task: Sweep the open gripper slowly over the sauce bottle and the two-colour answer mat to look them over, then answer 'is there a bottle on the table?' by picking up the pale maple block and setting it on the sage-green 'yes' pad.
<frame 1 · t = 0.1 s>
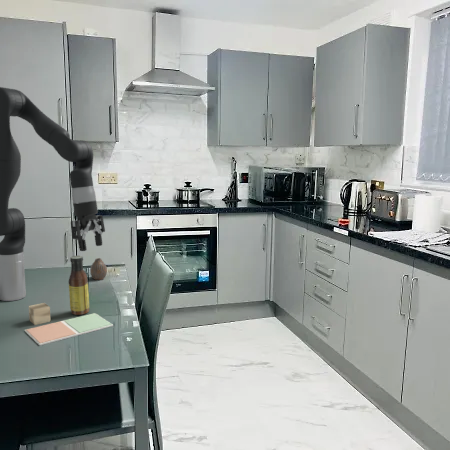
hand: (91, 248, 151), 22 cm above the table, tool pointing down, fingers open, 8 cm apart
brown rounded lump: (98, 279, 193), on the table
sauce bottle: (79, 313, 153), on the table
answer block: (40, 321, 145), on the table
answer mat: (69, 328, 140), on the table
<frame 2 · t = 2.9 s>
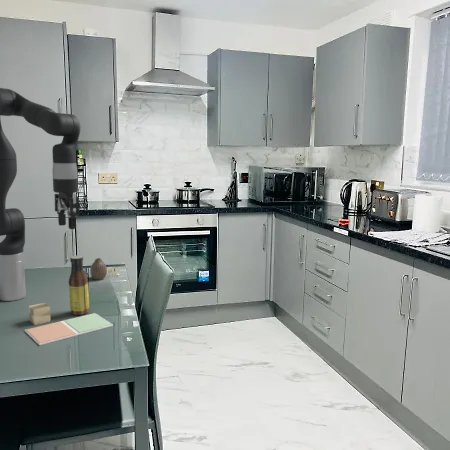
hand: (67, 227, 146), 30 cm above the table, tool pointing down, fingers open, 8 cm apart
nothing on the table moved.
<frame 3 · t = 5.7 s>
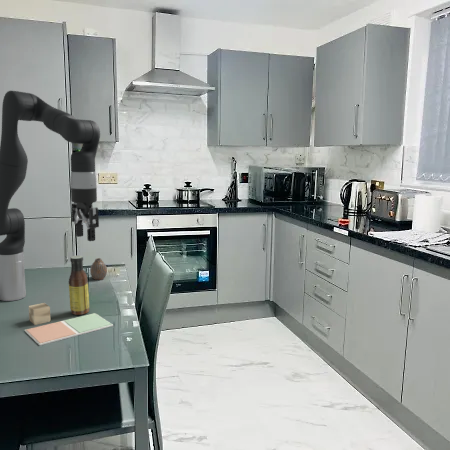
hand: (85, 238, 139), 28 cm above the table, tool pointing down, fingers open, 8 cm apart
nothing on the table moved.
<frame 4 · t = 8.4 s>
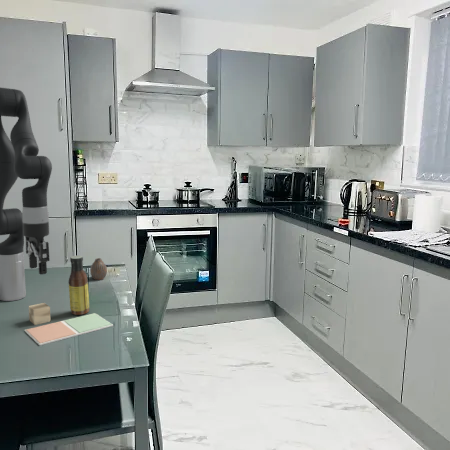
hand: (38, 270, 142), 17 cm above the table, tool pointing down, fingers open, 8 cm apart
nothing on the table moved.
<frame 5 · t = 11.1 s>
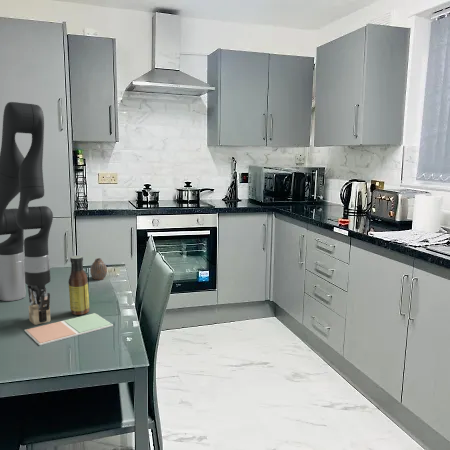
hand: (39, 318, 145), 1 cm above the table, tool pointing down, fingers closed on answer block, 5 cm apart
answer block: (39, 320, 145), on the table, touching gripper
everything else where it was.
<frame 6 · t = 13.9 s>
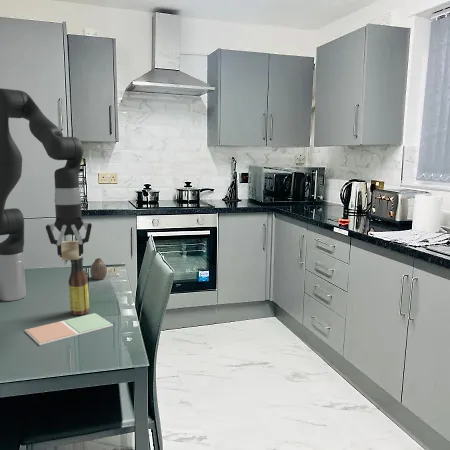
hand: (70, 255, 140), 22 cm above the table, tool pointing down, fingers closed on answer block, 5 cm apart
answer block: (70, 258, 141), point 22 cm above the table, touching gripper
everything else where it was.
when the fingers open (3 cm above the table, at t = 17.0 s): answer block drops 1 cm, resting on answer mat.
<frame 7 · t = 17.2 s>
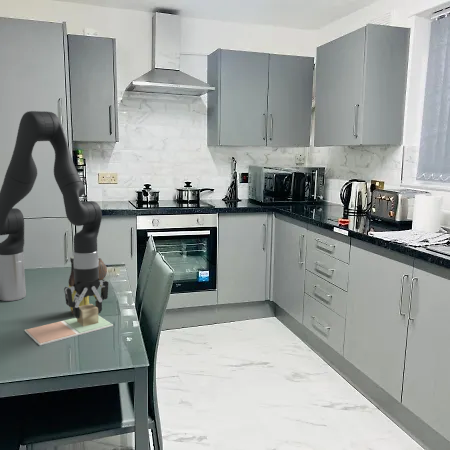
hand: (87, 315, 143), 3 cm above the table, tool pointing down, fingers open, 6 cm apart
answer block: (87, 322, 144), point 1 cm above the table, touching answer mat
everything else where it was.
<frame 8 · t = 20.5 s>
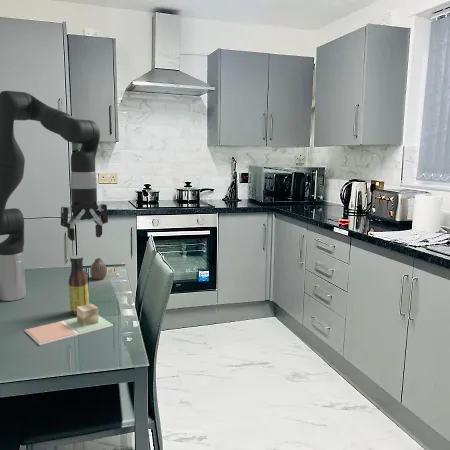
hand: (85, 238, 139), 28 cm above the table, tool pointing down, fingers open, 8 cm apart
nothing on the table moved.
at the end: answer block inside the target area on the answer mat (0.6 cm from its centre), point 0.6 cm above the answer mat's base; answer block tilted 0°; sauce bottle moved 0.2 cm from its start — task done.
